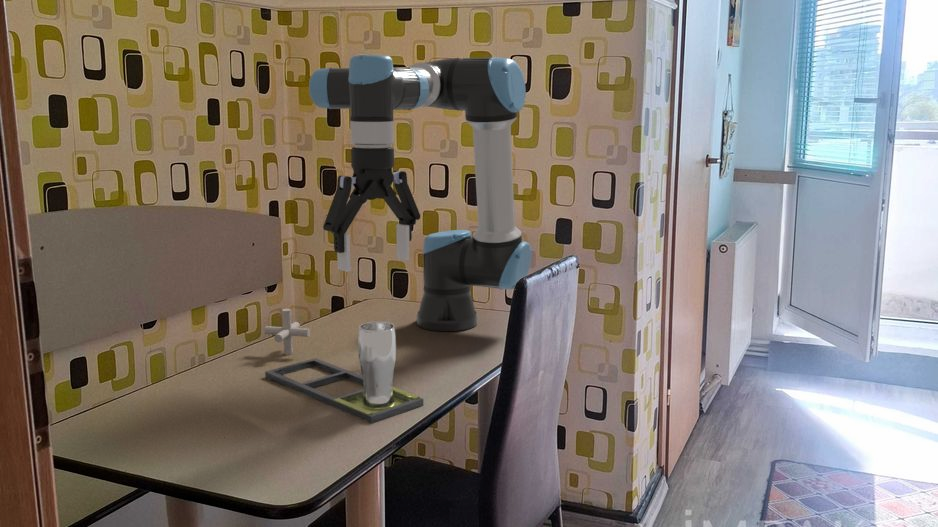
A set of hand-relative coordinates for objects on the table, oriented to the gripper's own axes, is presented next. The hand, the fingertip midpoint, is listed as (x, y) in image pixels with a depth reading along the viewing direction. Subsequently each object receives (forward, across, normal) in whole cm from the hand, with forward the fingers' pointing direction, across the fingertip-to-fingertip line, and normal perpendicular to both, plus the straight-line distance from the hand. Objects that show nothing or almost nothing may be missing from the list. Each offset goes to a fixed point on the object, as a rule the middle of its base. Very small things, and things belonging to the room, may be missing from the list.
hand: (374, 265), depth 154 cm
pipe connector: (+27, -6, -38) cm, 47 cm away
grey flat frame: (+27, 0, -11) cm, 29 cm away
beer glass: (+27, 0, 0) cm, 27 cm away
